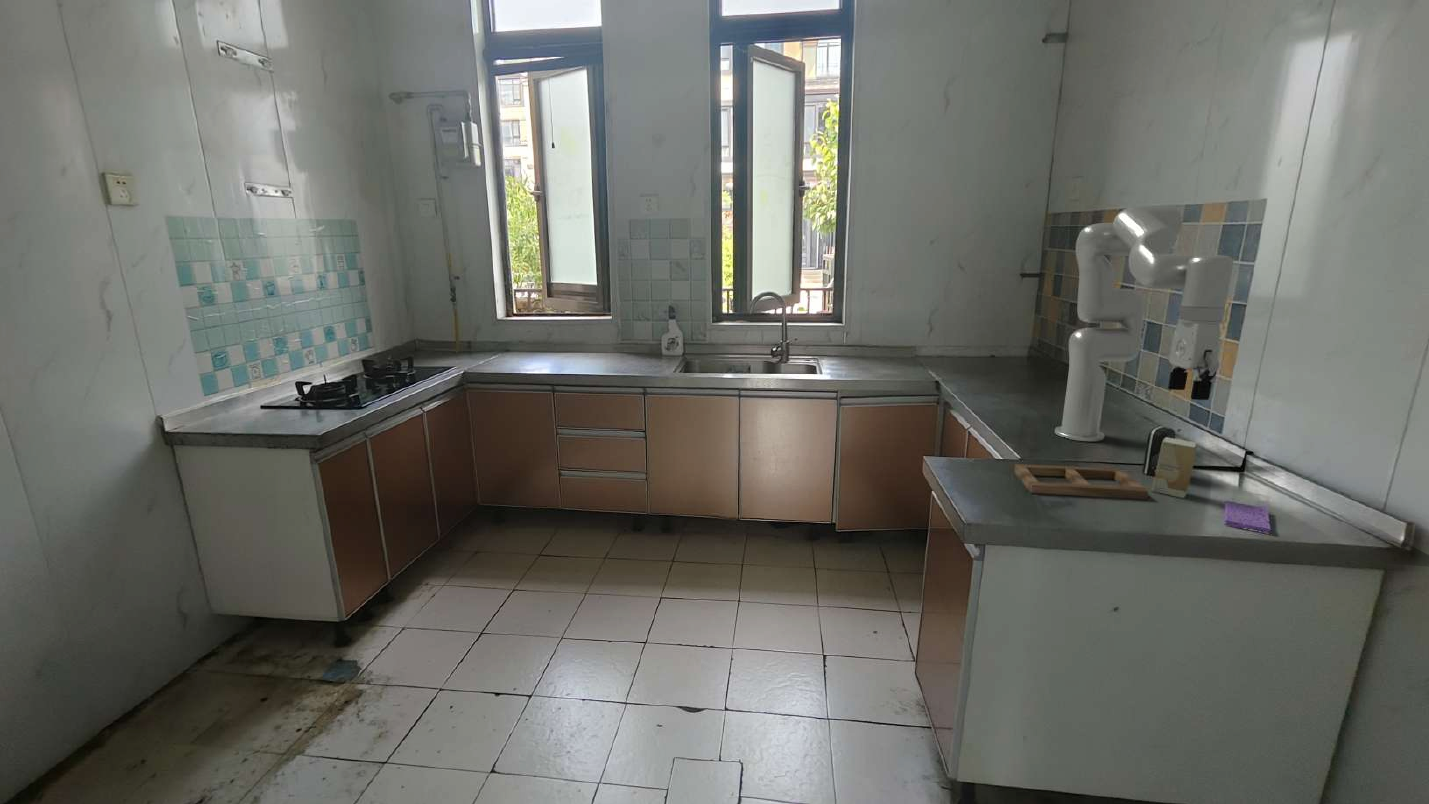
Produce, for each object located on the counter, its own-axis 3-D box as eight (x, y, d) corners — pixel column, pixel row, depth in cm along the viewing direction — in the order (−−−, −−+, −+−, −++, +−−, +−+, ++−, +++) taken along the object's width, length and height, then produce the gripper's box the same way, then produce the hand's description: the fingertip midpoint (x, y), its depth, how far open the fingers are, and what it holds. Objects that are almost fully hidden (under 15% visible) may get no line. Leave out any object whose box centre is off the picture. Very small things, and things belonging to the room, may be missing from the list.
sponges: (1223, 527, 127) (1225, 519, 126) (1223, 507, 136) (1225, 499, 136) (1269, 537, 123) (1271, 528, 122) (1266, 515, 132) (1267, 507, 132)
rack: (1013, 471, 157) (1014, 463, 156) (1118, 476, 153) (1120, 468, 152) (1030, 492, 144) (1031, 484, 143) (1146, 499, 140) (1148, 490, 139)
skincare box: (1151, 491, 144) (1160, 440, 141) (1154, 486, 147) (1163, 436, 144) (1185, 499, 139) (1195, 446, 136) (1188, 493, 143) (1198, 442, 139)
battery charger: (1158, 478, 152) (1166, 433, 149) (1141, 473, 155) (1148, 429, 152) (1171, 472, 155) (1179, 428, 153) (1153, 468, 158) (1161, 424, 156)
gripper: (1161, 311, 142) (1149, 385, 146) (1203, 319, 125) (1188, 402, 129) (1199, 311, 140) (1186, 386, 144) (1246, 320, 124) (1230, 404, 128)
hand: (1187, 394), depth 137 cm, fingers open, 9 cm apart
